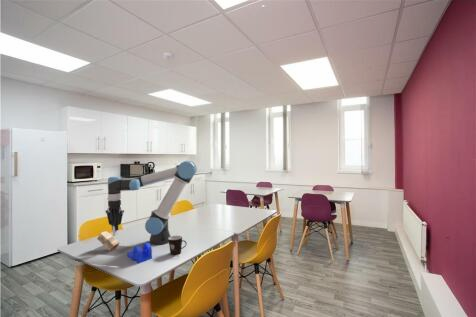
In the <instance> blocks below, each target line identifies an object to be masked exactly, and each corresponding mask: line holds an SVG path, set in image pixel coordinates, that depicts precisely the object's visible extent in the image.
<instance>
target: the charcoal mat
mask: <svg viewBox="0 0 476 317" xmlns="http://www.w3.org/2000/svg"><path fill="white" fill-rule="evenodd" d="M132 248H133V245H132V246H131V245H120V244H119V245H118V246H117V248H116V249H114V250H112V251H109V250H108V249H107V248H106V247H105V246H104V245H103V244H102V245H101V246H98V247H97V248H94V249H91V250H89V251H87V252H86V254H88V255H89V254H91V255H100V256H114V257H117V256H119V255H121V254H123V253H125V252H126V251H128V250H131V249H132Z"/></svg>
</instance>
